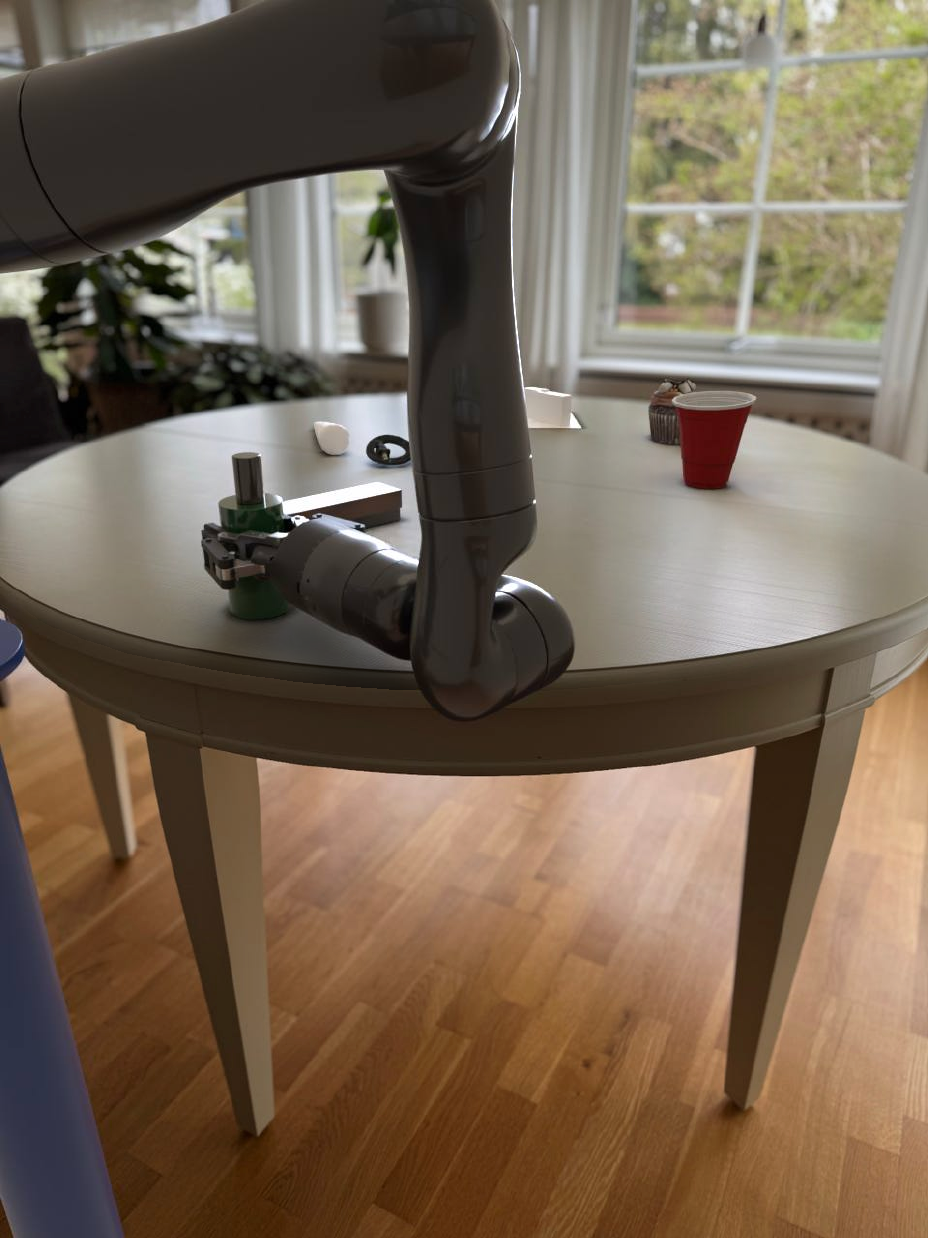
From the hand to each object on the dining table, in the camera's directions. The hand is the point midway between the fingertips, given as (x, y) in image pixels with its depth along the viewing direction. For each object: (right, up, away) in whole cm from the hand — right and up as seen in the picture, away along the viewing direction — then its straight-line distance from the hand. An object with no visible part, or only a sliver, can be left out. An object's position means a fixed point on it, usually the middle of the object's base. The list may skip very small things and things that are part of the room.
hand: (239, 527), depth 77 cm
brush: (+5, +2, +22) cm, 22 cm away
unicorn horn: (-3, +21, +66) cm, 69 cm away
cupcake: (+56, +22, +68) cm, 91 cm away
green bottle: (+2, -7, +1) cm, 7 cm away
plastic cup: (+53, +10, +42) cm, 68 cm away
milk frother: (+14, +15, +52) cm, 56 cm away
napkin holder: (+36, +29, +84) cm, 95 cm away
